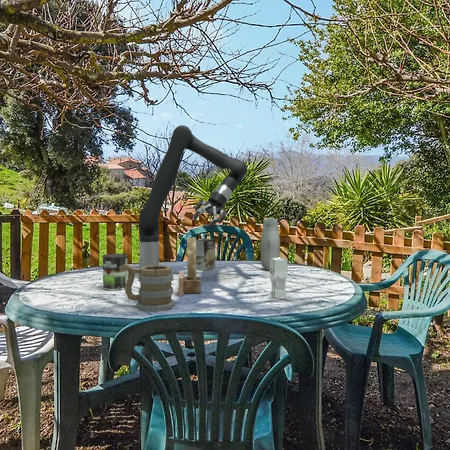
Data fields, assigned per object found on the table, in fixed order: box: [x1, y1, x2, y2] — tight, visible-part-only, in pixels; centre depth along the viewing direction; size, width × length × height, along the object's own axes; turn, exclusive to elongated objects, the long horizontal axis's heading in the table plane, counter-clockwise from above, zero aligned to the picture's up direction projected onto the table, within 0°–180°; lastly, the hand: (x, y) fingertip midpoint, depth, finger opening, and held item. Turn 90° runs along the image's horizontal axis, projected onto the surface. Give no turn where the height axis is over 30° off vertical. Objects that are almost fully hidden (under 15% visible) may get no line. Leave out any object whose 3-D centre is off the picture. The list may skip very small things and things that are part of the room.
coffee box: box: [196, 238, 216, 272], centre depth 226 cm, size 9×6×16 cm
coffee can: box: [102, 253, 128, 291], centre depth 179 cm, size 10×10×14 cm
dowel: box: [186, 237, 197, 280], centre depth 173 cm, size 4×4×22 cm
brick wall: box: [178, 270, 185, 297], centre depth 174 cm, size 2×16×7 cm, turn 5°
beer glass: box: [269, 257, 289, 299], centre depth 165 cm, size 7×7×15 cm
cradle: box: [183, 275, 202, 294], centre depth 174 cm, size 7×9×5 cm
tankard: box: [119, 263, 176, 312], centre depth 150 cm, size 20×13×15 cm, turn 77°
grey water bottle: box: [260, 217, 281, 271], centre depth 223 cm, size 10×10×28 cm
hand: (201, 223), depth 190 cm, fingers open, 8 cm apart
